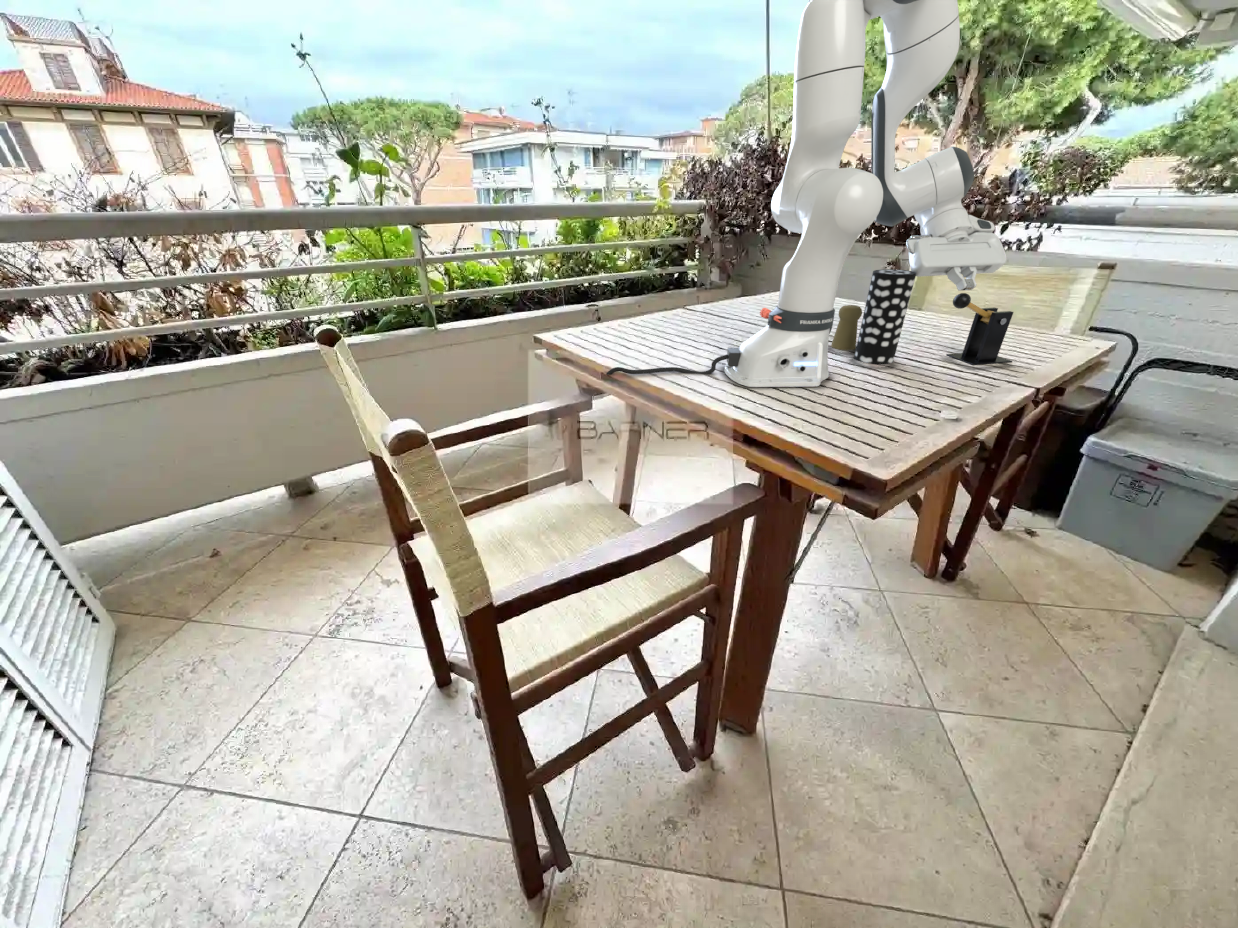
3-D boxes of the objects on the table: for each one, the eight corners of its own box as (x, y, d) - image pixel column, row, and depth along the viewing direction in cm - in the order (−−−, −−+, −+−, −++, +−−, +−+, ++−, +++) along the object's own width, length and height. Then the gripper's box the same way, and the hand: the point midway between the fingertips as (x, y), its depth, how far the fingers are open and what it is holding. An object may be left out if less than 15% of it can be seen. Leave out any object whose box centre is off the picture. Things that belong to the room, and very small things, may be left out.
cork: (860, 352, 120) (870, 307, 115) (838, 354, 120) (847, 308, 114) (846, 346, 126) (855, 302, 120) (825, 348, 125) (833, 304, 119)
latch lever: (957, 306, 102) (967, 292, 101) (946, 303, 105) (956, 289, 104) (997, 329, 107) (1007, 315, 105) (985, 326, 109) (995, 312, 108)
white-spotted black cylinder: (884, 357, 116) (906, 269, 107) (898, 368, 109) (923, 274, 99) (848, 357, 117) (867, 269, 108) (860, 368, 110) (881, 275, 100)
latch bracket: (971, 369, 108) (989, 315, 102) (944, 359, 115) (960, 307, 109) (1010, 366, 109) (1031, 312, 103) (982, 356, 116) (1000, 305, 110)
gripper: (914, 225, 101) (934, 281, 98) (1000, 222, 104) (1022, 277, 100) (895, 246, 107) (912, 300, 104) (976, 243, 110) (997, 295, 106)
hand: (967, 288), depth 102 cm, fingers closed
